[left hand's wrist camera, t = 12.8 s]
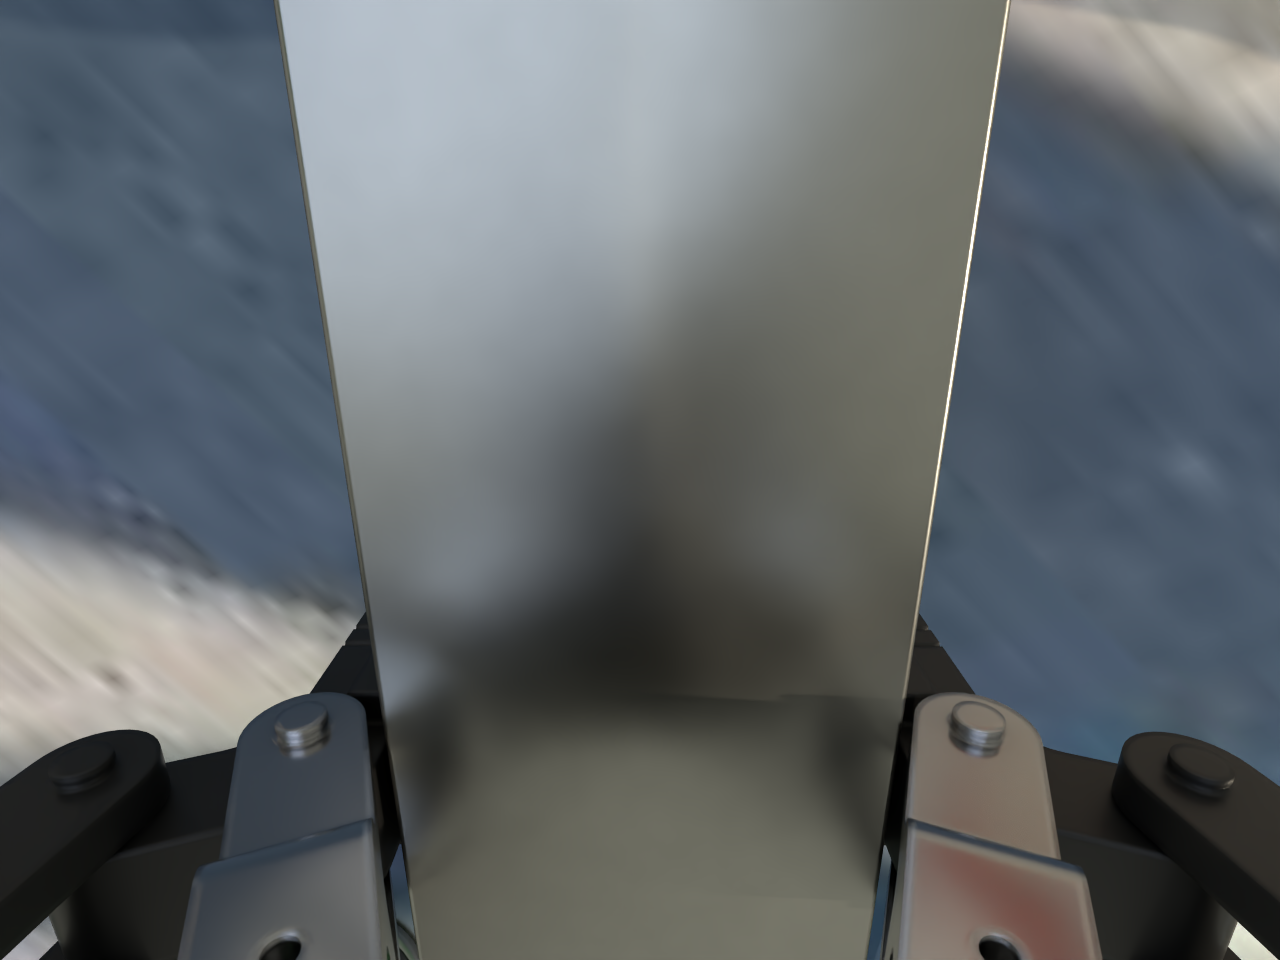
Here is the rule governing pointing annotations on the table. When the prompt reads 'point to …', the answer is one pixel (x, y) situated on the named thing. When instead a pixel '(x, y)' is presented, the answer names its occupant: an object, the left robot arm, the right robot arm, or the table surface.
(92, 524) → the table surface
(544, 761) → the bar
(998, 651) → the table surface
